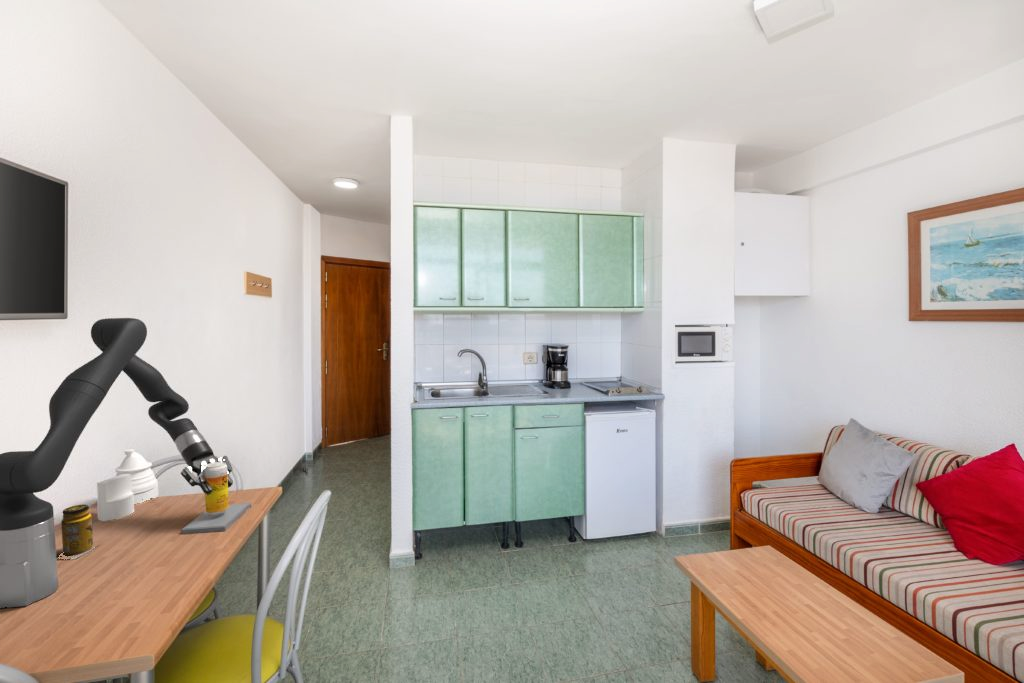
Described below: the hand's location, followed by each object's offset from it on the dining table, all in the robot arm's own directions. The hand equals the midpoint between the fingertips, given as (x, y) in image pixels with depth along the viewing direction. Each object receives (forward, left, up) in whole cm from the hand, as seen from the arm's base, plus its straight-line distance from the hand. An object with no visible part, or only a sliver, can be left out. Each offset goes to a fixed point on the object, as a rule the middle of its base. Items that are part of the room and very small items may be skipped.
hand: (220, 489), depth 144 cm
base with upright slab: (+10, +36, -10) cm, 39 cm away
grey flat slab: (+1, +1, -10) cm, 10 cm away
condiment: (-15, +30, -10) cm, 35 cm away
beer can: (+1, +2, -7) cm, 8 cm away
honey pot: (+24, +39, -10) cm, 47 cm away
